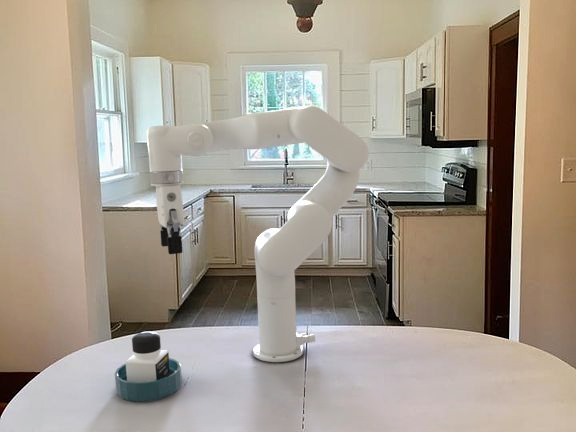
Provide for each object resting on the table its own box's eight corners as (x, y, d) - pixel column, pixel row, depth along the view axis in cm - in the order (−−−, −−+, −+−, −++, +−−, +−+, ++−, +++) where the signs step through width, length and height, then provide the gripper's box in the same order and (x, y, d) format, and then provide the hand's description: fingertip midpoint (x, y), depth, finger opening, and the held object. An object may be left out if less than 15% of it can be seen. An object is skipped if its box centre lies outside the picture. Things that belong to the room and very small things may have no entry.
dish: (175, 370, 143) (174, 352, 142) (187, 395, 130) (186, 376, 129) (113, 381, 138) (112, 363, 137) (119, 408, 125) (117, 388, 124)
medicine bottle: (158, 394, 130) (154, 341, 128) (127, 392, 131) (123, 339, 129) (170, 379, 137) (167, 329, 135) (141, 378, 138) (137, 328, 136)
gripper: (190, 180, 135) (194, 254, 138) (175, 174, 151) (180, 241, 154) (156, 182, 132) (161, 258, 135) (145, 176, 148) (150, 244, 151)
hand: (171, 249), depth 144 cm, fingers open, 9 cm apart
